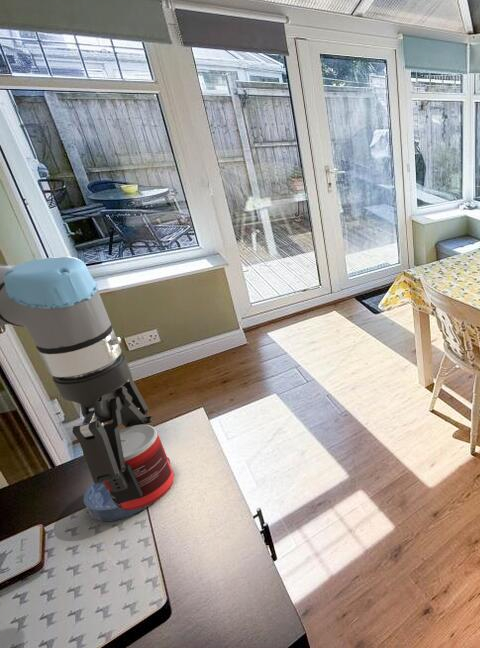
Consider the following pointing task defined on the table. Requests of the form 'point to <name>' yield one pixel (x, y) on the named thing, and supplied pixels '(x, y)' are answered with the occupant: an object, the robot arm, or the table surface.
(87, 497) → the bowl
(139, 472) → the canned food
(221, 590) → the table surface
